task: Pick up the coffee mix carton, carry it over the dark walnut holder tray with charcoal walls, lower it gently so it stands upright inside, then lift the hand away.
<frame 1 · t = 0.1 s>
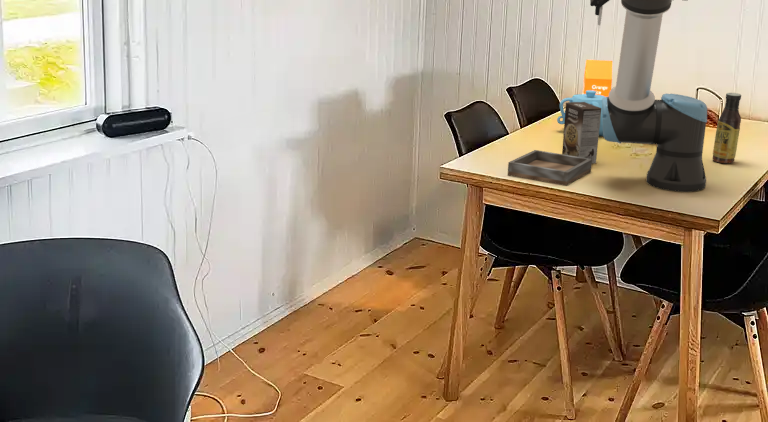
hand: (622, 23, 300), 36 cm above the table, tool tilted 35°, fingers open, 13 cm apart
sauce bottle: (723, 162, 287), on the table
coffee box: (578, 161, 286), on the table
plastic cup: (653, 142, 309), on the table
holder: (549, 173, 272), on the table
orange juice: (594, 119, 339), on the table
decorative pot: (587, 133, 319), on the table
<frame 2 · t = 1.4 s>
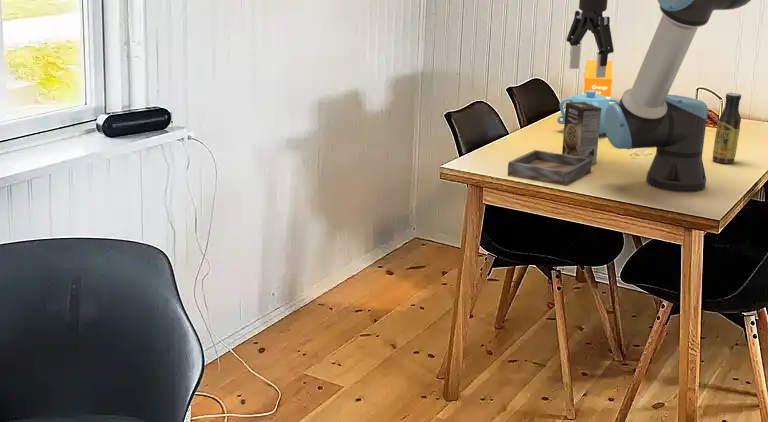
hand: (586, 73, 279), 25 cm above the table, tool pointing down, fingers open, 13 cm apart
nothing on the table moved.
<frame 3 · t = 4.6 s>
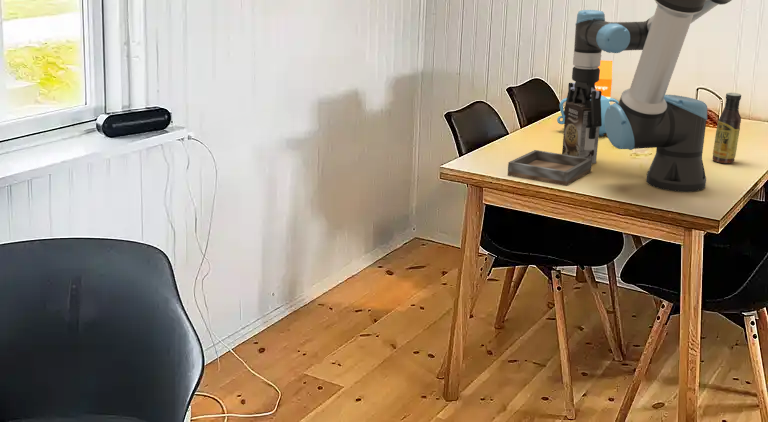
hand: (580, 145, 284), 4 cm above the table, tool pointing down, fingers closed on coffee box, 9 cm apart
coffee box: (578, 160, 286), on the table, touching gripper
everything else where it was.
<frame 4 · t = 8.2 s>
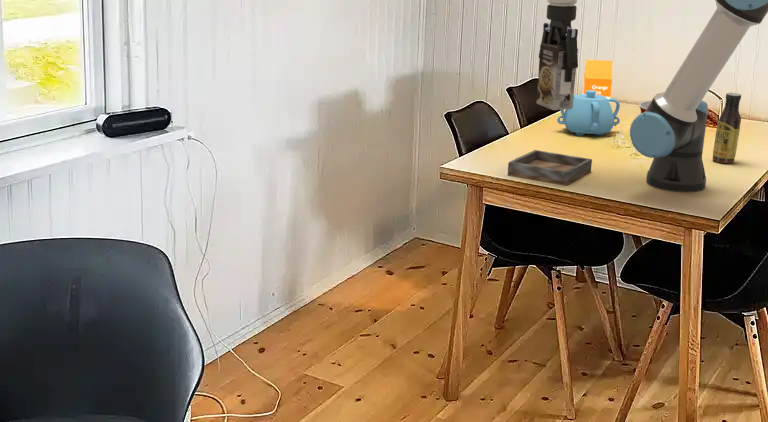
hand: (555, 90, 265), 23 cm above the table, tool pointing down, fingers closed on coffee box, 9 cm apart
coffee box: (554, 107, 266), point 18 cm above the table, touching gripper
everything else where it was.
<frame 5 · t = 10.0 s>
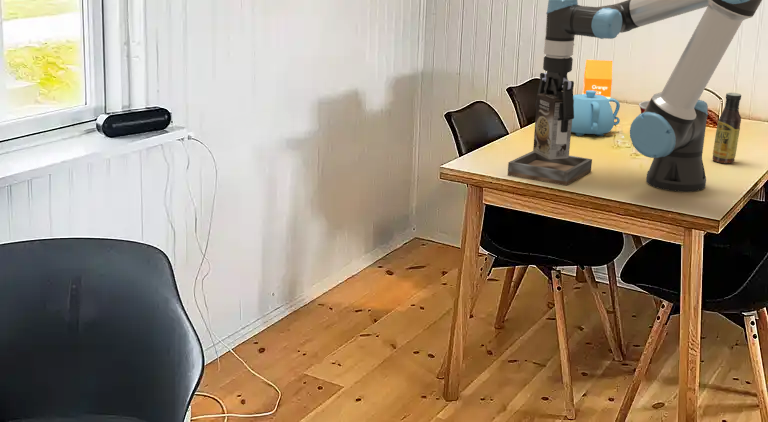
hand: (552, 139, 269), 9 cm above the table, tool pointing down, fingers closed on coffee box, 9 cm apart
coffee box: (550, 155, 270), point 5 cm above the table, touching gripper
everything else where it was.
when the fingers open (6 cm above the table, at t = 11.8 s): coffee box stays where it is, resting on holder.
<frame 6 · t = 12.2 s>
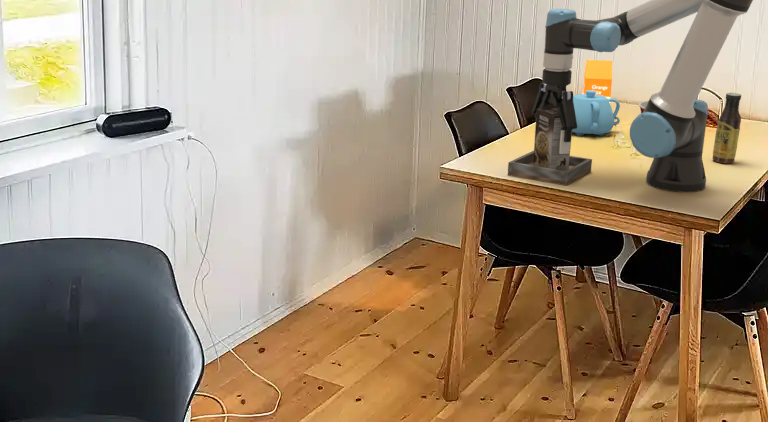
hand: (551, 147, 269), 7 cm above the table, tool pointing down, fingers open, 13 cm apart
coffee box: (550, 170, 271), point 1 cm above the table, touching holder
everything else where it was.
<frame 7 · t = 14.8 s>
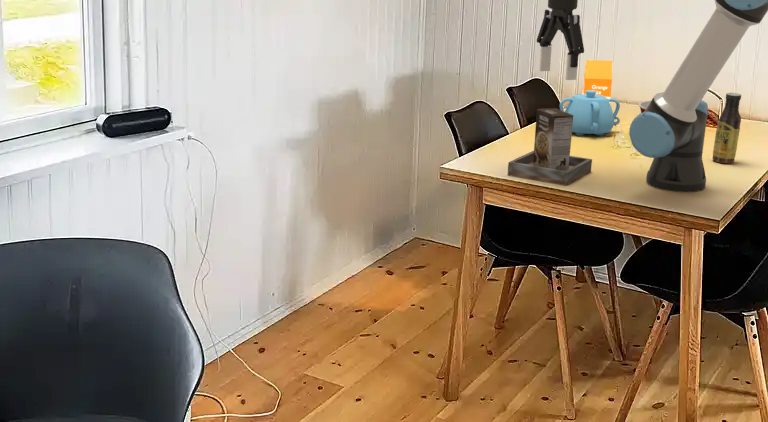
hand: (557, 75, 264), 27 cm above the table, tool pointing down, fingers open, 13 cm apart
nothing on the table moved.
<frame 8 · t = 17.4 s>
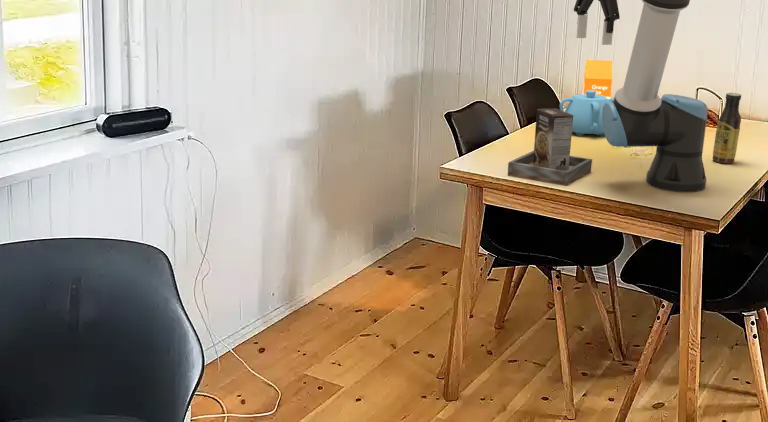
hand: (593, 41, 284), 33 cm above the table, tool pointing down, fingers open, 13 cm apart
nothing on the table moved.
at the end: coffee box inside the target area on the holder (0.3 cm from its centre), point 0.8 cm above the holder's base; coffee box tilted 0°; the gripper is holding nothing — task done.
